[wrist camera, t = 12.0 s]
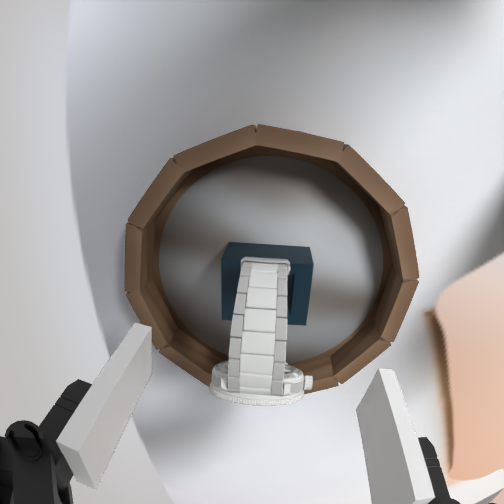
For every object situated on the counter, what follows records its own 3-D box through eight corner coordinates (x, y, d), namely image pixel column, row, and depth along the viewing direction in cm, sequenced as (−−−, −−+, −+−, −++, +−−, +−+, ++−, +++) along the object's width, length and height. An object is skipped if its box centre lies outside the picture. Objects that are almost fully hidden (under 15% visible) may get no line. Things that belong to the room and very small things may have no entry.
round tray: (156, 111, 21) (136, 108, 17) (430, 167, 20) (453, 174, 17) (141, 343, 28) (127, 366, 25) (353, 383, 27) (359, 410, 24)
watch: (228, 319, 25) (197, 431, 14) (229, 216, 22) (183, 293, 11) (301, 324, 24) (309, 440, 14) (313, 221, 21) (340, 304, 11)
